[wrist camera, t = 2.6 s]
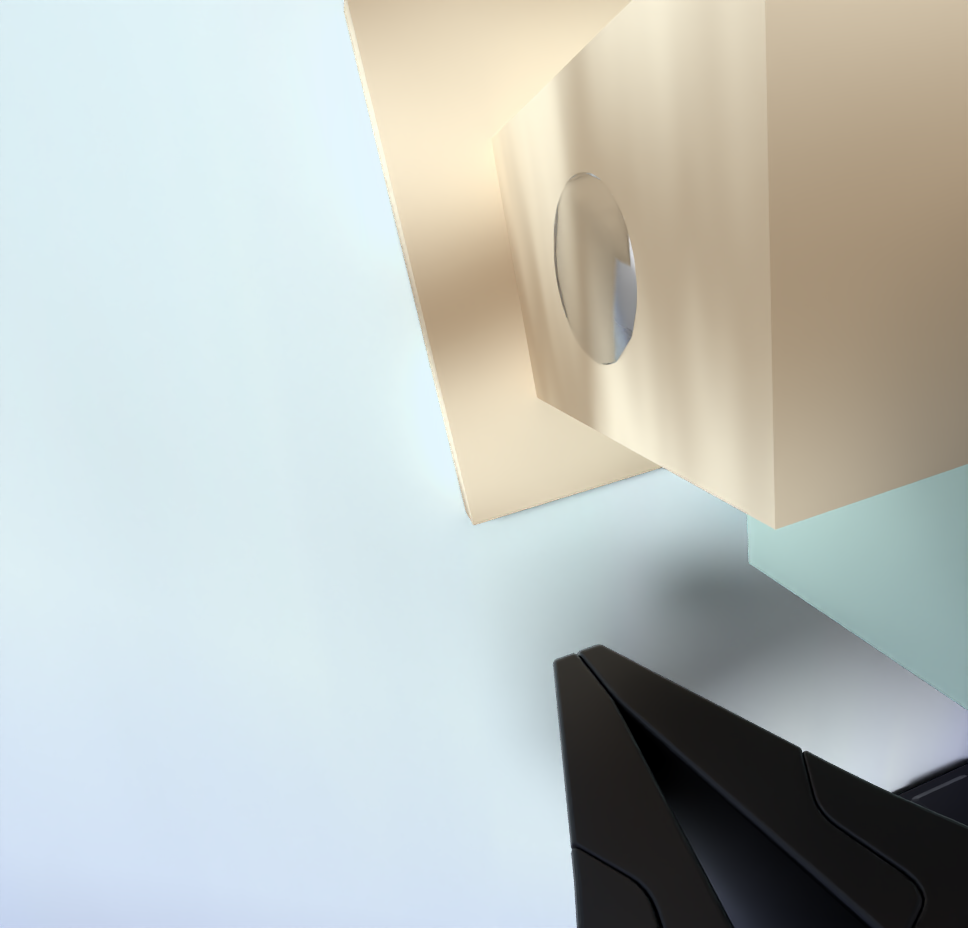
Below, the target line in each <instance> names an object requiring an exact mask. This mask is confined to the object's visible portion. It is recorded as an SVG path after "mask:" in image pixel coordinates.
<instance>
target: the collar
mask: <svg viewBox="0 0 968 928" xmlns="http://www.w3.org/2000/svg"><path fill="white" fill-rule="evenodd" d="M747 535H748V560H749V564H751V565H752V566H754V567H755V568H757V569H758V570H760V571H761V572H763V573H764V574H765V575H767V576H768V577H770V578H771V579H773V580H774V581H776V582H777V583H779V584H780V585H782V586H783V587H785V588H786V589H788V590H789V591H791V592H792V593H794V594H795V595H797V596H798V597H800V598H801V599H803V600H804V601H806V602H807V603H809V604H810V605H812V606H813V607H815V608H816V609H818V610H819V611H821V612H822V613H824V614H825V615H826V616H828V617H829V618H831V619H832V620H834V621H835V622H837V623H838V624H840V625H841V626H843V627H844V628H846V629H847V630H849V631H850V632H852V633H853V634H855V635H856V636H858V637H859V638H861V639H862V640H864V641H865V642H867V643H868V644H870V645H871V646H873V647H874V648H876V649H877V650H879V651H880V652H882V653H883V654H885V655H886V656H887V657H889V658H890V659H892V660H893V661H895V662H896V663H898V664H899V665H901V666H902V667H904V668H905V669H907V670H908V671H910V672H911V673H913V674H914V675H916V676H917V677H919V678H920V679H922V680H923V681H925V682H926V683H928V684H929V685H931V686H932V687H934V688H935V689H937V690H938V691H940V692H941V693H943V694H944V695H946V696H947V697H948V698H950V699H951V700H953V701H954V702H956V703H957V704H959V705H960V706H962V707H963V708H965V709H966V710H968V464H966V465H963V466H960V467H957V468H954V469H952V470H949V471H946V472H943V473H940V474H937V475H934V476H931V477H928V478H925V479H922V480H919V481H916V482H913V483H911V484H908V485H905V486H902V487H899V488H896V489H893V490H890V491H887V492H884V493H881V494H878V495H875V496H872V497H869V498H867V499H864V500H861V501H858V502H855V503H852V504H849V505H846V506H843V507H840V508H837V509H834V510H831V511H828V512H826V513H823V514H820V515H817V516H814V517H811V518H808V519H805V520H802V521H799V522H796V523H793V524H790V525H787V526H784V527H782V528H779V529H776V530H775V529H773V528H771V527H769V526H768V525H766V524H764V523H762V522H760V521H759V520H757V519H755V518H753V517H751V516H750V515H748V514H747Z"/></svg>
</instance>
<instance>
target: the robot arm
mask: <svg viewBox="0 0 968 928" xmlns="http://www.w3.org/2000/svg"><path fill="white" fill-rule="evenodd" d="M553 668H554V678H555V688H556V699H557V709H558V719H559V729H560V740H561V750H562V760H563V770H564V781H565V791H566V801H567V811H568V822H569V832H570V842H571V849H572V852H571V856H572V866H573V876H574V889H575V905H576V921H577V928H968V764H966V765H964V766H962V767H960V768H957V769H955V770H953V771H951V772H949V773H946V774H944V775H942V776H940V777H937V778H935V779H933V780H931V781H929V782H926V783H924V784H922V785H920V786H918V787H915V788H913V789H911V790H909V791H907V792H904V793H902V794H900V795H895V794H893V793H891V792H889V791H886V790H884V789H882V788H880V787H878V786H875V785H873V784H871V783H869V782H867V781H865V780H863V779H861V778H859V777H857V776H855V775H853V774H851V773H849V772H847V771H845V770H843V769H841V768H839V767H837V766H835V765H833V764H831V763H829V762H827V761H825V760H823V759H821V758H819V757H818V756H816V755H814V754H812V753H810V752H808V751H804V752H803V753H802V750H801V748H800V747H798V746H796V745H794V744H792V743H790V742H788V741H786V740H784V739H782V738H781V737H779V736H777V735H775V734H773V733H771V732H769V731H767V730H765V729H763V728H761V727H759V726H757V725H755V724H754V723H752V722H750V721H748V720H746V719H744V718H742V717H740V716H738V715H736V714H734V713H732V712H730V711H729V710H727V709H725V708H723V707H721V706H719V705H717V704H715V703H713V702H711V701H709V700H707V699H705V698H703V697H702V696H700V695H698V694H696V693H694V692H692V691H690V690H688V689H686V688H684V687H682V686H680V685H678V684H677V683H675V682H673V681H671V680H669V679H667V678H665V677H663V676H661V675H659V674H657V673H655V672H653V671H651V670H650V669H648V668H646V667H644V666H642V665H640V664H638V663H636V662H634V661H632V660H630V659H628V658H626V657H625V656H623V655H621V654H619V653H617V652H615V651H613V650H611V649H609V648H607V647H605V646H603V645H594V646H592V647H589V648H586V649H583V650H581V651H579V652H578V654H574V653H572V654H569V655H566V656H564V657H561V658H558V659H556V660H554V662H553Z"/></svg>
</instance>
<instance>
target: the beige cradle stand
mask: <svg viewBox="0 0 968 928" xmlns="http://www.w3.org/2000/svg"><path fill="white" fill-rule="evenodd" d="M344 13H345V18H346V22H347V26H348V30H349V34H350V38H351V42H352V46H353V50H354V54H355V59H356V63H357V67H358V71H359V75H360V79H361V83H362V87H363V91H364V95H365V100H366V104H367V108H368V112H369V116H370V120H371V124H372V128H373V132H374V137H375V141H376V145H377V149H378V153H379V157H380V161H381V165H382V169H383V173H384V178H385V182H386V186H387V190H388V194H389V198H390V202H391V206H392V210H393V214H394V219H395V223H396V227H397V231H398V235H399V239H400V243H401V247H402V251H403V255H404V260H405V264H406V268H407V272H408V276H409V280H410V284H411V288H412V292H413V296H414V301H415V305H416V309H417V313H418V317H419V321H420V325H421V329H422V333H423V338H424V342H425V346H426V350H427V354H428V358H429V362H430V366H431V370H432V374H433V379H434V383H435V387H436V391H437V395H438V399H439V403H440V407H441V411H442V415H443V420H444V424H445V428H446V432H447V436H448V440H449V444H450V448H451V452H452V456H453V461H454V465H455V469H456V473H457V477H458V481H459V485H460V489H461V493H462V498H463V502H464V506H465V510H466V513H467V515H468V516H469V518H470V520H471V522H472V523H473V525H476V524H480V523H483V522H486V521H489V520H493V519H496V518H499V517H502V516H506V515H509V514H512V513H515V512H519V511H522V510H525V509H528V508H532V507H535V506H538V505H541V504H545V503H548V502H551V501H554V500H558V499H561V498H564V497H567V496H571V495H574V494H577V493H580V492H584V491H587V490H590V489H593V488H597V487H600V486H603V485H606V484H610V483H613V482H616V481H619V480H623V479H626V478H629V477H632V476H636V475H639V474H642V473H645V472H649V471H652V470H655V469H659V468H662V467H663V468H665V469H667V470H668V471H670V472H672V473H674V474H676V475H677V476H679V477H681V478H683V479H685V480H686V481H688V482H690V483H692V484H694V485H695V486H697V487H699V488H701V489H703V490H705V491H706V492H708V493H710V494H712V495H714V496H715V497H717V498H719V499H721V500H723V501H724V502H726V503H728V504H730V505H732V506H733V507H735V508H737V509H739V510H741V511H742V512H744V513H746V514H748V515H750V516H751V517H753V518H755V519H757V520H759V521H760V522H762V523H764V524H766V525H768V526H769V527H771V528H773V529H775V530H776V529H779V528H782V527H784V526H787V525H790V524H793V523H796V522H799V521H802V520H805V519H808V518H811V517H814V516H817V515H820V514H823V513H826V512H828V511H831V510H834V509H837V508H840V507H843V506H846V505H849V504H852V503H855V502H858V501H861V500H864V499H867V498H869V497H872V496H875V495H878V494H881V493H884V492H887V491H890V490H893V489H896V488H899V487H902V486H905V485H908V484H911V483H913V482H916V481H919V480H922V479H925V478H928V477H931V476H934V475H937V474H940V473H943V472H946V471H949V470H952V469H954V468H957V467H960V466H963V465H966V464H968V0H344ZM587 173H590V174H593V175H595V176H596V177H598V178H599V179H598V178H596V177H594V176H592V175H589V174H587ZM574 175H576V176H574ZM572 176H574V177H573V178H572V179H570V178H571V177H572ZM569 179H570V180H569ZM557 205H558V221H557V237H556V238H557V239H556V242H557V243H556V244H557V245H556V257H557V265H558V266H557V267H558V268H556V269H558V280H559V282H560V287H561V292H562V296H563V301H564V304H565V309H566V313H567V316H568V319H567V318H566V315H565V312H564V309H563V306H562V302H561V298H560V294H559V290H558V285H557V279H556V272H555V264H554V222H555V215H556V209H557ZM622 215H623V216H622ZM628 234H629V235H628ZM629 239H630V242H631V246H632V250H633V255H634V262H635V271H636V281H637V308H636V316H635V319H634V320H635V321H634V326H633V333H632V334H631V335H632V337H631V339H630V341H629V342H628V344H627V345H625V349H624V348H623V349H624V350H623V352H622V353H621V355H620V357H619V359H617V358H616V356H615V353H616V351H615V352H614V350H616V349H615V347H616V346H617V345H616V344H617V343H615V344H614V342H615V341H614V340H615V337H614V336H616V335H613V334H614V333H613V332H614V331H615V330H616V329H614V328H613V327H612V326H613V325H612V324H614V323H615V322H614V323H612V322H613V321H614V320H613V318H614V316H615V315H614V316H613V313H615V312H612V311H613V309H614V308H613V307H614V306H613V305H614V304H616V303H615V302H614V301H615V300H616V298H614V295H615V294H613V293H616V292H617V291H616V288H615V287H614V286H616V284H615V283H614V282H615V281H616V280H615V279H616V278H617V277H618V276H617V277H615V276H616V272H617V271H616V269H617V268H615V267H616V263H618V262H617V261H616V259H617V260H618V259H619V260H618V261H619V262H620V261H623V264H625V263H626V264H625V265H627V266H629V265H630V263H631V262H630V261H631V260H630V253H629V251H630V249H629V244H630V242H628V241H629ZM615 261H616V262H615ZM614 262H615V263H614ZM621 263H622V262H621ZM630 268H631V265H630ZM614 269H615V270H614ZM617 270H618V269H617ZM613 271H614V272H613ZM615 271H616V272H615ZM613 273H614V274H613ZM614 275H615V276H614ZM614 280H615V281H614ZM616 283H617V282H616ZM614 288H615V289H614ZM613 290H614V292H613ZM615 291H616V292H615ZM612 302H614V303H612ZM617 306H618V305H617ZM615 307H616V306H615ZM612 317H613V318H612ZM616 317H617V316H616ZM612 320H613V321H612ZM615 324H616V323H615ZM615 324H614V325H615ZM611 328H612V329H611ZM613 329H614V330H613ZM615 332H616V331H615ZM612 333H613V334H612ZM611 334H612V335H613V336H612V335H611ZM613 337H614V338H613ZM616 342H617V341H616ZM614 345H615V347H614ZM613 348H614V350H613ZM612 351H613V353H614V354H613V353H612ZM613 355H614V356H615V357H614V356H613ZM615 358H616V359H617V362H616V361H615ZM613 359H614V360H613ZM613 361H614V362H615V363H612V362H613ZM603 363H604V364H606V363H612V364H610V365H604V364H603Z"/></svg>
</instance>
